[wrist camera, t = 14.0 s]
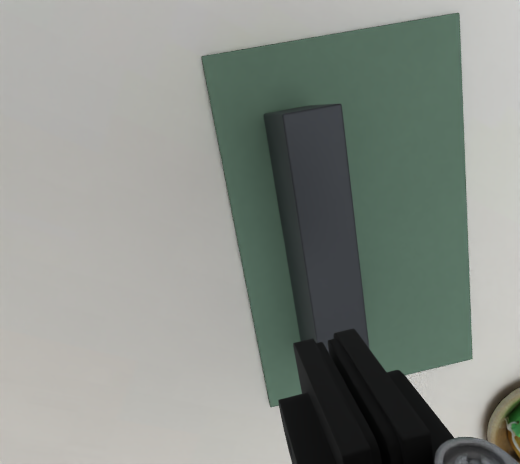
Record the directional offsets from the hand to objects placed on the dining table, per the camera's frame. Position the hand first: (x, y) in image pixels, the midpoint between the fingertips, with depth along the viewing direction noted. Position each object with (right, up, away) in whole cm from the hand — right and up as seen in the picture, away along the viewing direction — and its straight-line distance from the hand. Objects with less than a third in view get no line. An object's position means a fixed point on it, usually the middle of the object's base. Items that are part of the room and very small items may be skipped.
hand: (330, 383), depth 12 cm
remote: (+1, +3, +10) cm, 10 cm away
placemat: (+3, +4, +13) cm, 14 cm away
